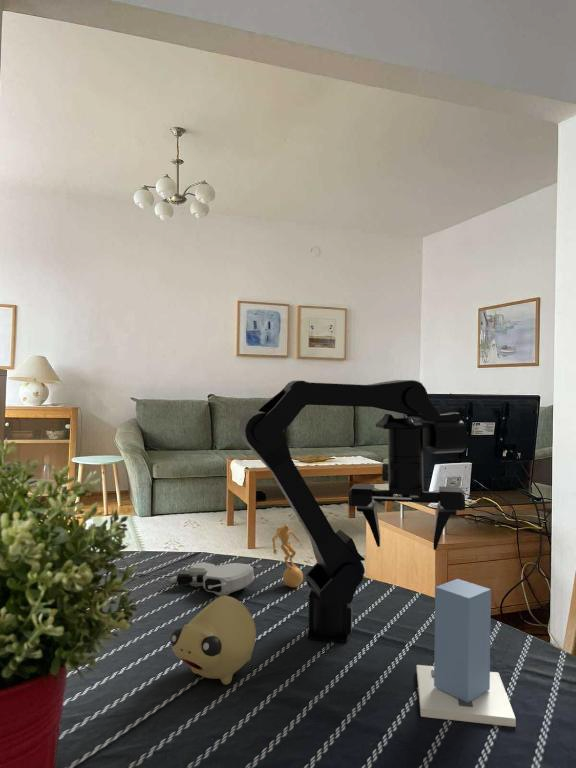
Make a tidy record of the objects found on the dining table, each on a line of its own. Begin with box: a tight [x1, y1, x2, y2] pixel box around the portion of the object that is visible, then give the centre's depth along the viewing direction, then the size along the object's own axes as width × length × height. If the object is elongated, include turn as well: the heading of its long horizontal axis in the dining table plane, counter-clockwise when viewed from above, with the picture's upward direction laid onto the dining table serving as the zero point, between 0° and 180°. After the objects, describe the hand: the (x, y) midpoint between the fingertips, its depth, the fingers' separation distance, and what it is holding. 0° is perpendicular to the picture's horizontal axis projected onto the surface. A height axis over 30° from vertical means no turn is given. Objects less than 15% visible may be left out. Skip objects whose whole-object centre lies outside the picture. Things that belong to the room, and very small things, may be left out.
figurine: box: [271, 524, 304, 588], centre depth 115 cm, size 8×6×12 cm
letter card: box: [416, 664, 517, 728], centre depth 75 cm, size 11×11×1 cm
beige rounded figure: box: [170, 595, 257, 686], centre depth 79 cm, size 10×12×11 cm
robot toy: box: [169, 562, 262, 597], centre depth 113 cm, size 12×4×15 cm
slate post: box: [433, 578, 492, 703], centre depth 75 cm, size 5×5×13 cm
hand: (406, 547), depth 97 cm, fingers open, 9 cm apart
